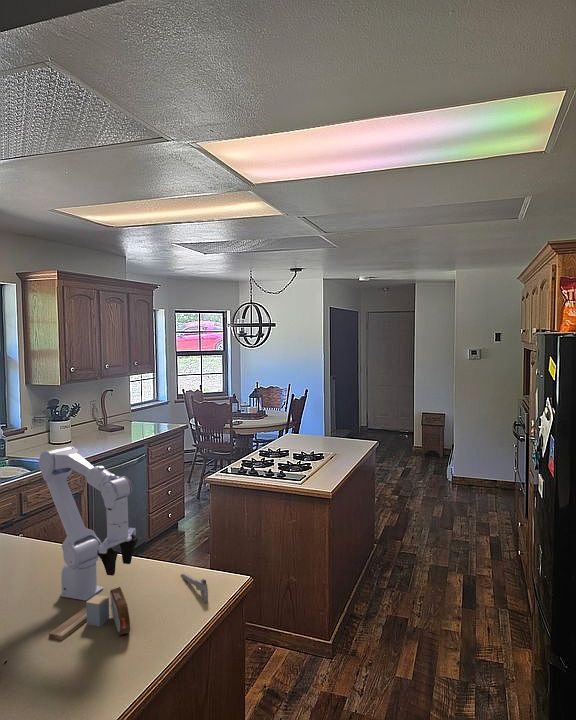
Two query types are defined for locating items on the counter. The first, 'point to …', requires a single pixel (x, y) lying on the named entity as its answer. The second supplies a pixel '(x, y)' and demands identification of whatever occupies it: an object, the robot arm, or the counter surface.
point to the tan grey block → (97, 610)
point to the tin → (120, 611)
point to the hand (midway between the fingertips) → (118, 569)
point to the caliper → (198, 585)
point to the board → (69, 625)
